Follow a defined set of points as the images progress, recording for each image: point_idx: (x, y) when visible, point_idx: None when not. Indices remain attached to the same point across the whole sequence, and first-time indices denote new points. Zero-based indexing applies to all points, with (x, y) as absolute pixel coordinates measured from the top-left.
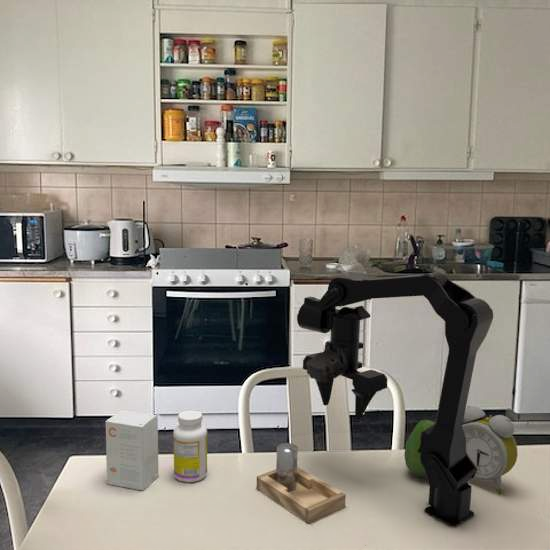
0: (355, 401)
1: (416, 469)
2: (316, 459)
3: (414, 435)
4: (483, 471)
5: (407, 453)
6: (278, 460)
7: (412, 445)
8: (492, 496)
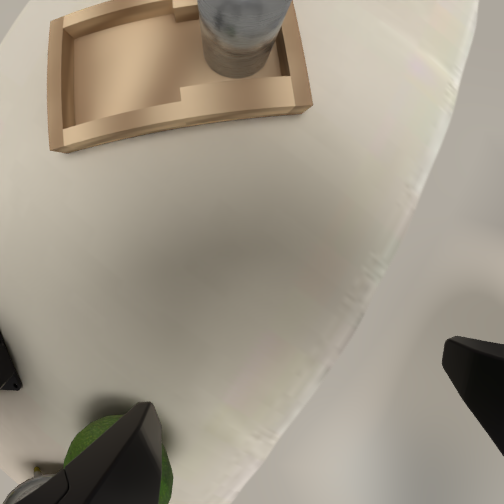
0: (88, 495)
1: (95, 421)
2: (346, 246)
3: None
4: None
5: None
6: None
7: None
8: (31, 453)
